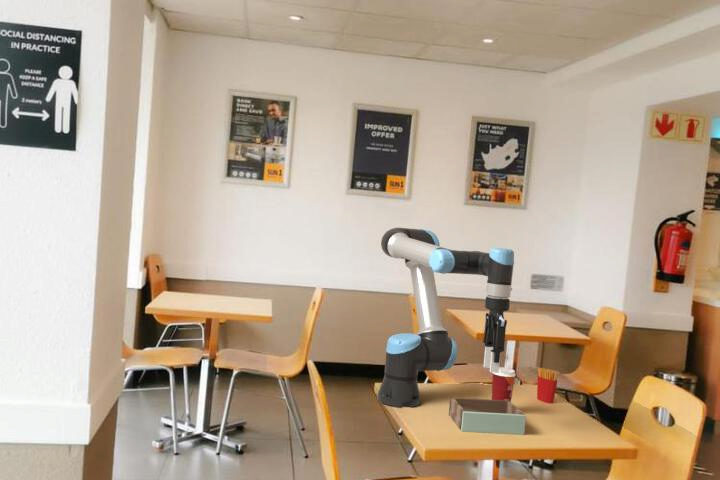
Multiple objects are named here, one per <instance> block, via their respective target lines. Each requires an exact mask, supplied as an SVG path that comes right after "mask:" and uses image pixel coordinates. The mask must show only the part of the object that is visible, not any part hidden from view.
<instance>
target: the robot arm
mask: <svg viewBox="0 0 720 480" xmlns="http://www.w3.org/2000/svg"><path fill="white" fill-rule="evenodd" d="M380 247H381V250H382V251H383V253H384V254H385V255H386V256H387V257H390V258H394V259H403V260H404V262H405V263H404V264H405V267H407V268H408V269H410V277H411V283H412V289H413V296H414V302H415V303H414V304H415V310H416V315H417V317H416V318H417V323H418V330H419V331H418V332H417V333H406V332H405V333H397V334H394V335H393V334H392V335H391V336H390V337H389V338H388V339H387V342H386V343H387V344H386V347H385V352H386V353H385V364H384V373H383V374H384V376H383V379H382V382H381V384H380V386H379V389H378V390H377V391H378V392H377V396H376V397H377V398H376V399H377V401H378V402H379V403H381V404H384V405H387V406H390V407H396V408H414V407H415V408H416V407H418V406H419V405H420V404H421V392H420V389H419V385H418V384H419V383H418V374H419V372H429V371H430V372H431V371H432V372H433V371H436V372H440V371H445V370H449V369H451V368H452V367H453V366H454V365H455V362H456V361H457V358H458V346H457V342H456V341H455V340H454V338H452V337H450V336H449V332H448V330H447V329H445V328H444V327H443V321H442V316H441V309H440V302H439V298H438V297H439V296H438V290H437V285H436V278H435V274H434V273H439V274H443V275H444V274H457V275H458V274H460V275H477V276H484V277H487V282H486V288H485V290H486V291H485V295H486V297H485V299H484V300H485V302H484V308H485V309H486V310H487V309H488V310H489V312H486V313H485V323H484V333H483V344H484V346H485V347H484V357H483V368H488V369H489V373H492V374H493V373H499V367H501V366H500V365H501V354H502V353H503V352H505V342H506V341H505V340H506V332H507V331H506V330H507V329H506V327H507V324H508V319H505V316H504V312H508V311H510V304H511V303H510V302H511V300H510V299H509V298H510V297H511V291H513V288H512V281H513V274H514V273H513V272H514V265H515V252H514V251H513V250H512V249H508V248H499V247H491V248H490V250H489V252H485V251H483V252H482V251H477V250H456V249H450V248H446V247H443V246H441V245H440V240H439V238H438V237H437V235H436V234H435V233H434V231H431V230H427V229H423V228H419V229H418V228H417V229H416V228H407V227H406V228H405V227H393V228H391V229H389V230H387V231H385V233H384V234H383V236H382V237H381V242H380Z"/></svg>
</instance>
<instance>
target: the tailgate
mask: <svg viewBox="0 0 720 480" xmlns="http://www.w3.org/2000/svg"><path fill="white" fill-rule="evenodd" d="M526 417H527V415H521V414H503V413H485V412H467V411H463V414H462V425H461V430H460V431H461V432H469V433H488V434H502V435H503V434H504V435H505V434H506V435H525V429H526Z"/></svg>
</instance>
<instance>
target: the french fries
mask: <svg viewBox="0 0 720 480" xmlns="http://www.w3.org/2000/svg"><path fill="white" fill-rule="evenodd" d="M537 373H538V375H537V380H536V381H537V389H536V391H537V392H536V399H537V400H538V401H540V402H543V403H547V404H554V401H555V395H556V390H557V385H558V379H557V375H558V374H557V373H556V371H554V370H550V369H549V368H546V369H545V368H544V367H540V368H538V367H537Z"/></svg>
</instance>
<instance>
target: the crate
mask: <svg viewBox="0 0 720 480" xmlns="http://www.w3.org/2000/svg"><path fill="white" fill-rule="evenodd" d="M448 410H449V411H448V416H449V417H450V418H451V420H452V421H453V422H454V425H456V426H457V427H458V429H459V430H460V431H461V425H462V414H463V411H467V412H485V413H503V414H521V415H525V413H524V412H523V411H522V410H520V409H519V408H518V407H517V406H516V405H515V404H513V402H512V401H511V402H510V401H505V400H492V399H486V398H485V399H484V398H471V397H470V398H469V397H453V396H450V399H449V409H448ZM525 416H526V415H525Z"/></svg>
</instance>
